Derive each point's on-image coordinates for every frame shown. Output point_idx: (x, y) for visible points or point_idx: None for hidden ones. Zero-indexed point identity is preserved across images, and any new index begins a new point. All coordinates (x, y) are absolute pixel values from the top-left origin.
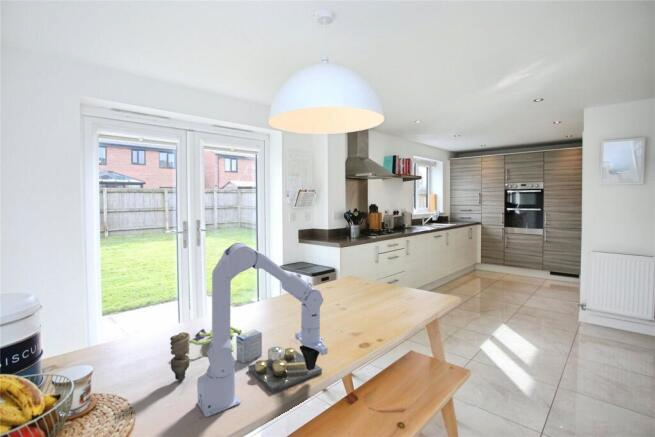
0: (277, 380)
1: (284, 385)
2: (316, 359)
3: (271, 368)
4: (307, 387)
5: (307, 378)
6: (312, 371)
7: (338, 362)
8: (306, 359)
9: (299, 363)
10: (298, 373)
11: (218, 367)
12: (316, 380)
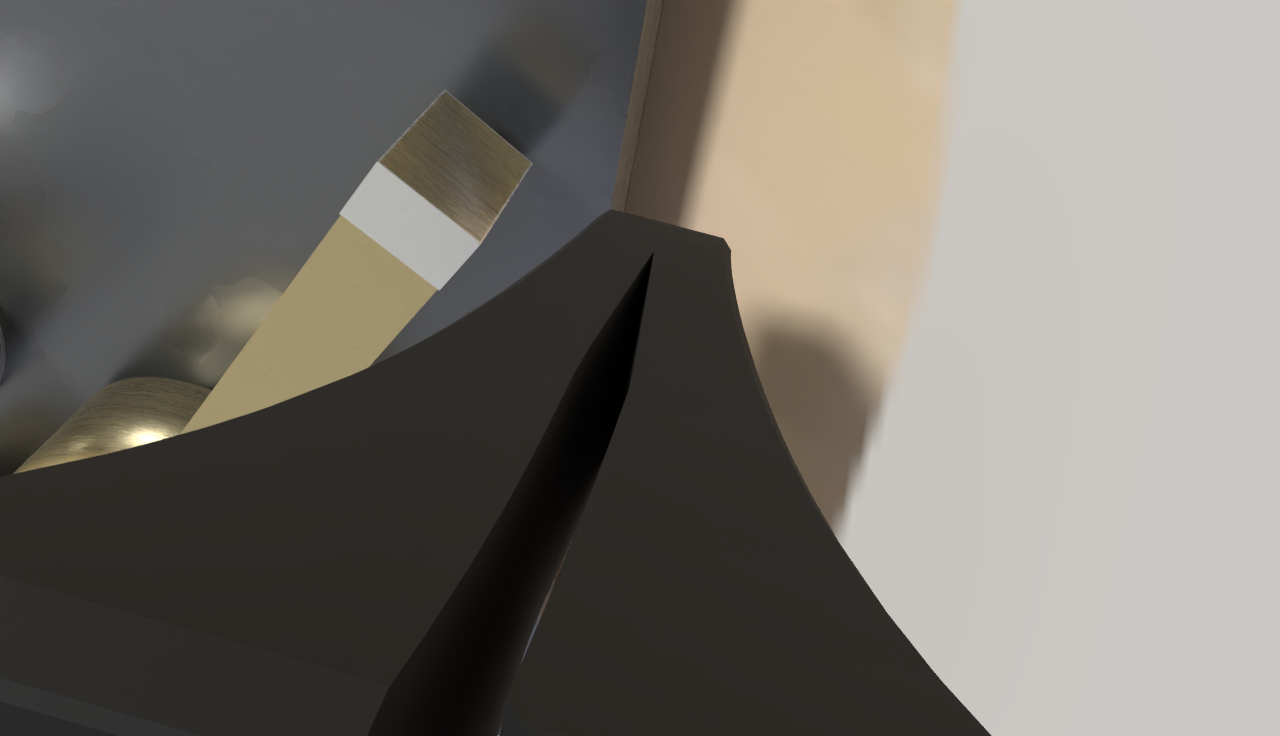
0: None
1: (546, 599)
2: (766, 422)
3: (8, 442)
4: (833, 393)
5: (624, 193)
6: (603, 77)
7: None
8: (531, 623)
9: (296, 368)
10: (442, 325)
11: None
12: (829, 115)
